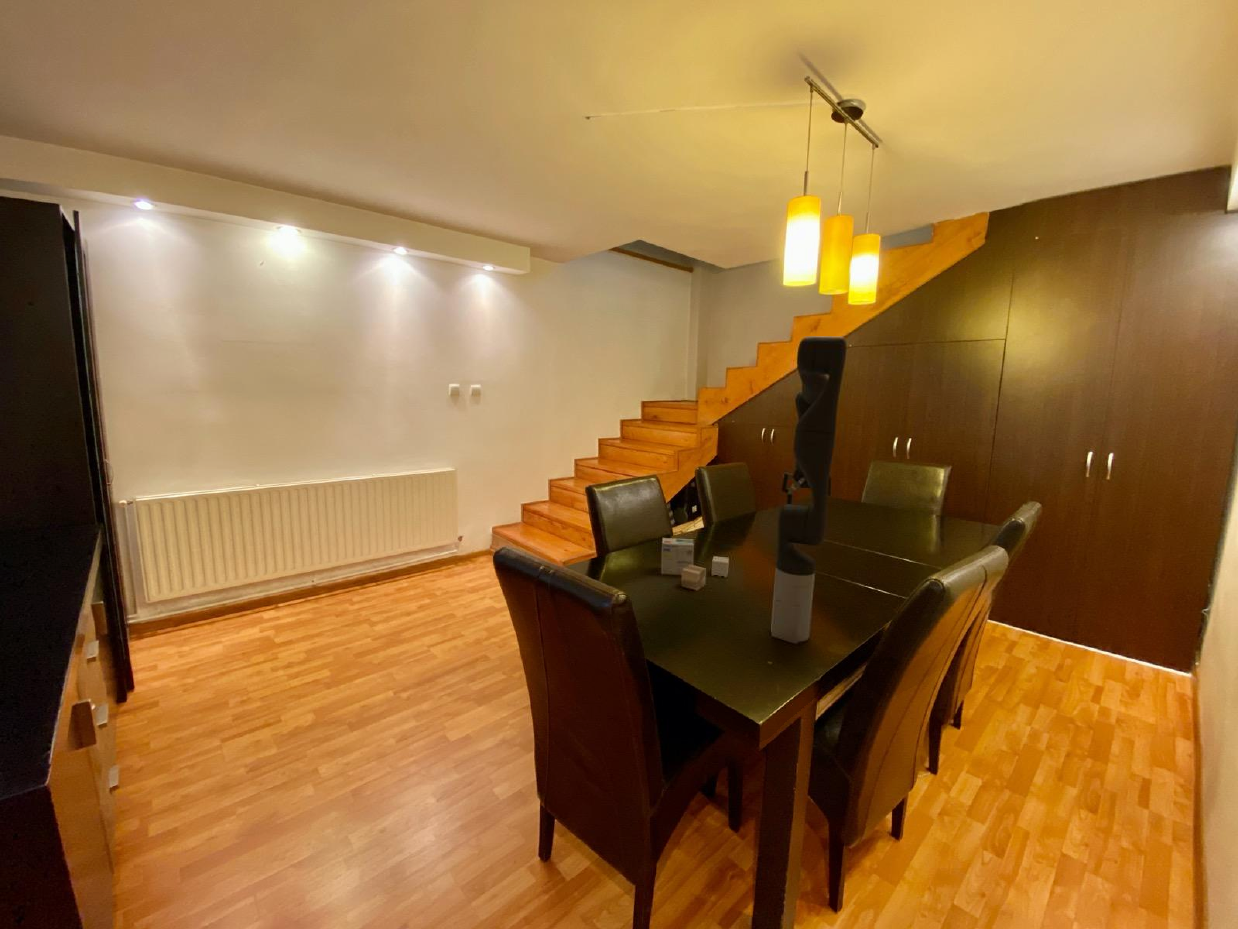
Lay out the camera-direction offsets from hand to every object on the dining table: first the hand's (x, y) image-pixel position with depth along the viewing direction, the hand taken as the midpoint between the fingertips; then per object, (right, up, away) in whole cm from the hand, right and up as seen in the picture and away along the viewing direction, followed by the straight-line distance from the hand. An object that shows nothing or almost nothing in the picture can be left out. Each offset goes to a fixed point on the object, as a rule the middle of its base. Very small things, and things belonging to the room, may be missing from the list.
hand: (804, 507), depth 156 cm
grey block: (-24, -23, +10) cm, 35 cm away
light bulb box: (-39, -23, +11) cm, 46 cm away
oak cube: (-35, -25, 0) cm, 43 cm away
